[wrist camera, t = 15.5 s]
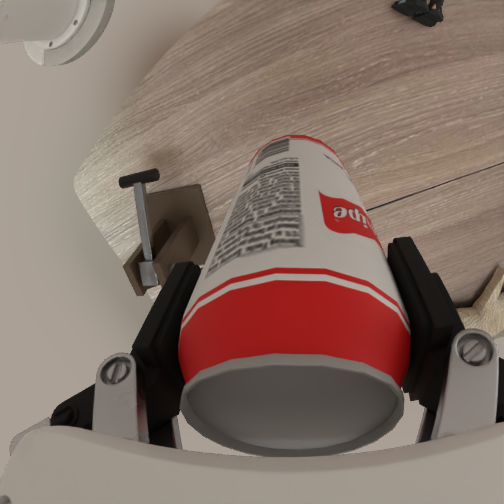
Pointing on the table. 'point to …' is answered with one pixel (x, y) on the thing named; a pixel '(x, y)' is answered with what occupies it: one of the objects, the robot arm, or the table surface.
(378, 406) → the beer can
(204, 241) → the tap bracket
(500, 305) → the toy
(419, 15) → the figurine
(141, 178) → the grey lever handle
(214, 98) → the table surface
